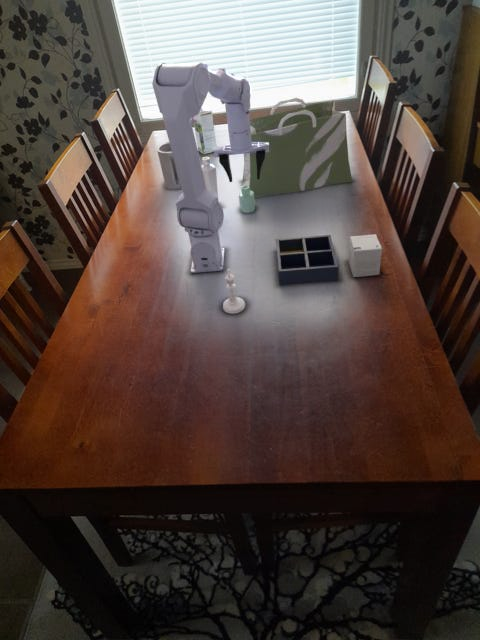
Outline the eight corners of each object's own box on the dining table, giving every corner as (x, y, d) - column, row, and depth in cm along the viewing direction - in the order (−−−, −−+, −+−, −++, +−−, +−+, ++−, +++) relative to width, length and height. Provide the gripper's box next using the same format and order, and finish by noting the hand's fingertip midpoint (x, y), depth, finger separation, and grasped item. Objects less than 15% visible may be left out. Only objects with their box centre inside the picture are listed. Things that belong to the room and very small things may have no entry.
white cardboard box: (373, 260, 107) (376, 233, 102) (379, 275, 103) (382, 248, 98) (347, 262, 108) (349, 235, 103) (352, 277, 103) (354, 250, 98)
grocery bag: (248, 200, 136) (240, 120, 120) (242, 180, 146) (233, 104, 131) (352, 182, 137) (357, 101, 122) (338, 164, 147) (341, 87, 132)
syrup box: (197, 150, 169) (190, 109, 159) (212, 145, 171) (206, 105, 161) (203, 155, 165) (196, 113, 155) (218, 150, 166) (212, 109, 157)
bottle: (255, 212, 130) (252, 189, 125) (240, 213, 130) (237, 191, 126) (255, 205, 133) (252, 182, 129) (240, 206, 134) (238, 184, 129)
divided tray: (337, 280, 103) (338, 266, 100) (279, 285, 104) (278, 271, 102) (330, 248, 113) (330, 234, 110) (276, 252, 114) (275, 239, 111)
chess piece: (244, 298, 102) (239, 261, 95) (245, 312, 98) (240, 275, 92) (222, 300, 102) (216, 264, 96) (223, 314, 99) (216, 278, 92)
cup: (184, 174, 155) (177, 138, 146) (197, 182, 148) (190, 146, 140) (160, 182, 151) (152, 147, 143) (172, 192, 145) (164, 155, 137)
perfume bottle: (219, 211, 133) (212, 161, 123) (205, 211, 134) (196, 162, 124) (223, 203, 136) (216, 154, 126) (209, 203, 137) (201, 155, 127)
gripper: (267, 120, 119) (270, 170, 128) (212, 126, 120) (219, 175, 129) (267, 130, 114) (271, 181, 123) (210, 136, 115) (218, 186, 124)
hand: (244, 179), depth 126 cm, fingers open, 7 cm apart
